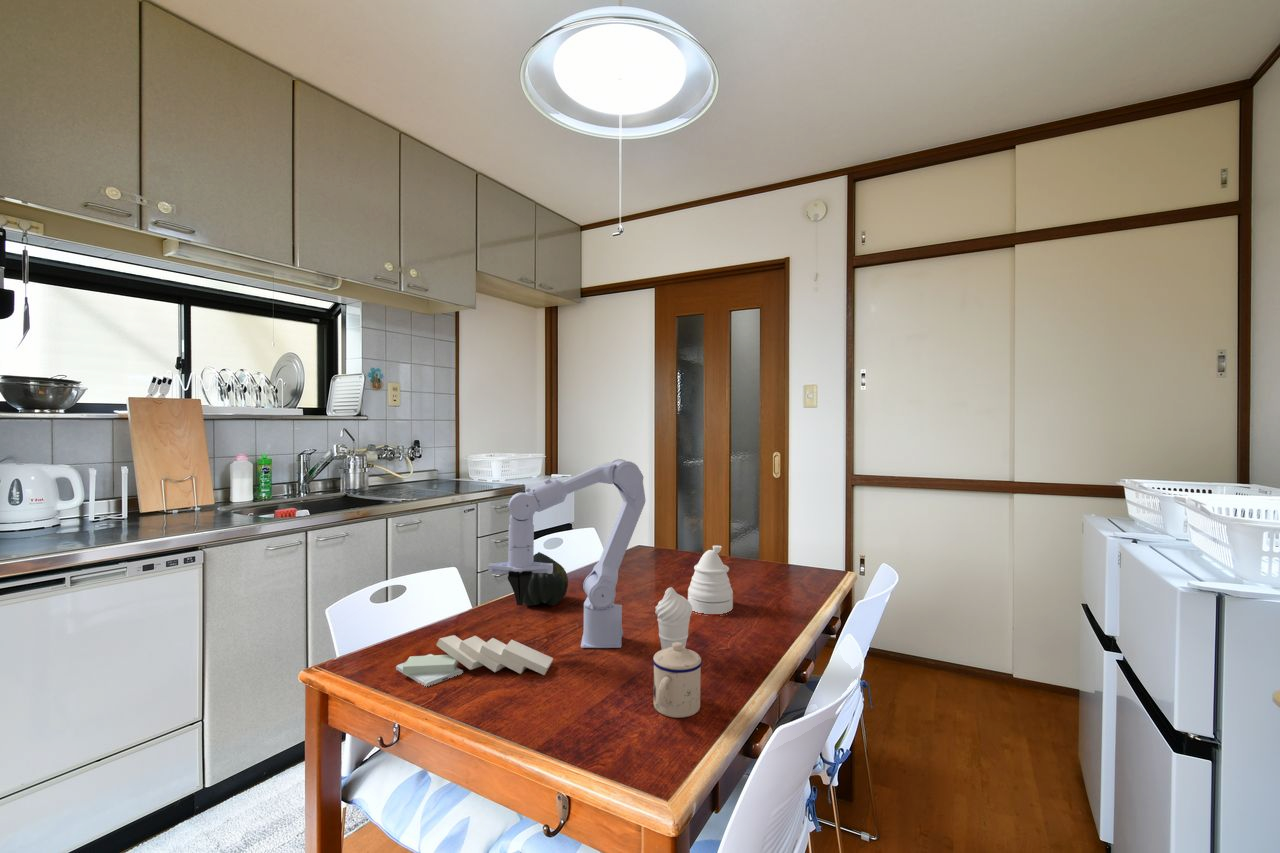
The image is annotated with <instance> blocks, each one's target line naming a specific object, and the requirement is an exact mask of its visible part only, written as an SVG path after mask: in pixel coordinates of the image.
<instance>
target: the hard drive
mask: <svg viewBox="0 0 1280 853" xmlns="http://www.w3.org/2000/svg"><path fill="white" fill-rule="evenodd" d="M431 655H433V654H432V653H428V654H426V655H424V656H431ZM405 663H406V661H405V662H402V663H399V664H397V665H396V666H395V670H396V671H399V673H402V674H403V666H404V664H405ZM462 673H463V674H464V670H463V669H461V668H459V667H457V666H456V668H455V670H454V672H445V673H424V674H404V676H407V677H408V678H410V679H412V680H413V681H415V682H417V683H418V684H420V683H421V684H420V685H422V686H423V685H424V686H423V687H425V686H426V687H425V688H428V687H431V686H434V685H436V684H439V683H441V682H444V681H447V680H449V678H450V679H451V678H455V677H457V675H458V676H460V675H462ZM454 676H455V677H454ZM433 684H434V685H433ZM430 685H431V686H430ZM427 686H428V687H427Z"/></svg>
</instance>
